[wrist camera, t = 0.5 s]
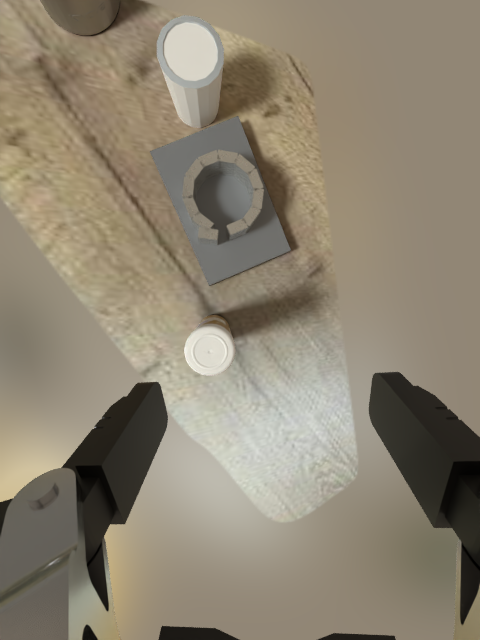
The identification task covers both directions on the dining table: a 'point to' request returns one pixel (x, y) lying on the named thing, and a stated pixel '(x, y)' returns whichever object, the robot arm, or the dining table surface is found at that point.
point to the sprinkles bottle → (210, 346)
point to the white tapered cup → (192, 68)
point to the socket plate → (221, 203)
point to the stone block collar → (228, 166)
